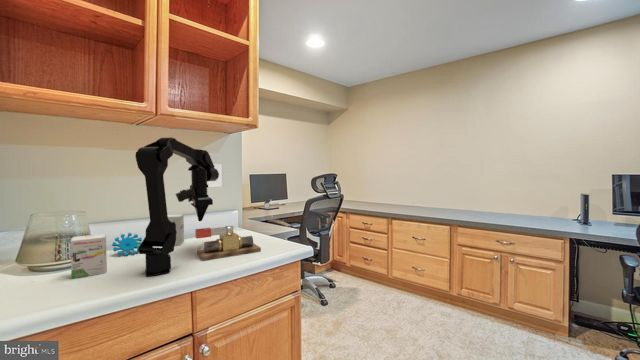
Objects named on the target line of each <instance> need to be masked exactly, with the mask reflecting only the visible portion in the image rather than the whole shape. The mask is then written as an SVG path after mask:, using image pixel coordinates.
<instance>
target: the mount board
mask: <svg viewBox="0 0 640 360" xmlns="http://www.w3.org/2000/svg"><path fill="white" fill-rule="evenodd" d="M261 249H262V248H261V247H260V245H259V246H258V245H257V244H255V243H254V242H253V246H247V247H242V248H240V249H239V250H233V251H226V252H223V251H220V252H218V251H214V252H207V253H205V251H204V248H203V249H197V250H196V255H197V256H198V258H199V259H200V261H201V262H203V261H212V260H217V259H222V258H229V257H235V256H241V255H248V254H253V253H259V252H261V251H262V250H261Z"/></svg>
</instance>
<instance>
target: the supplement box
mask: <svg viewBox="0 0 640 360" xmlns="http://www.w3.org/2000/svg"><path fill="white" fill-rule="evenodd" d="M167 215H168V219H169V221H170V222H175V224H176V232H177V234H176V242H175V246H177V247H179V246H181V245H182V243H184V242H185V230H184V229H185V228H184V227H185V221H184V219H185V218H184V217H185V216H184V213H183V214H181V213H180V214H179V213H177V214H167Z"/></svg>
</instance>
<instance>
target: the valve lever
mask: <svg viewBox="0 0 640 360" xmlns="http://www.w3.org/2000/svg"><path fill="white" fill-rule="evenodd" d="M194 230H195V231H194V232H195V239H204V238H205V239H206V238H212V236H219V235H222V234H225V235H231V234H233V233H234V226H233V225H227V226H226V225H225V226H222V227H221V226H220V227H212V228H211V227H205V228H204V227H203V228H195V229H194Z"/></svg>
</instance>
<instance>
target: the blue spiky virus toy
mask: <svg viewBox="0 0 640 360" xmlns="http://www.w3.org/2000/svg"><path fill="white" fill-rule="evenodd" d="M132 235H133V234H132V232H128V233H127V235H126V236H125V233H122V234H121V233H120V238H121V240H120V238H119V237H118V236H117V237H115V238H114V242H112V244H111V246H112V247H113V248H112V249H113V252H117V253H116V254H117V255H118V256H121V255H122V254H123V253H124V254H123V256H124V257H128V256H129V252H131V254H130V255H132V256H133V255H136V251H137V252H139V250H138V248H139V246H140V245H141V243H142V241H143V240H142V239H143V238H142V237H139V235H138V234H137V233H135V234H134V235H133V236H132ZM117 243H118V244H117ZM135 249H136V251H135Z"/></svg>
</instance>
